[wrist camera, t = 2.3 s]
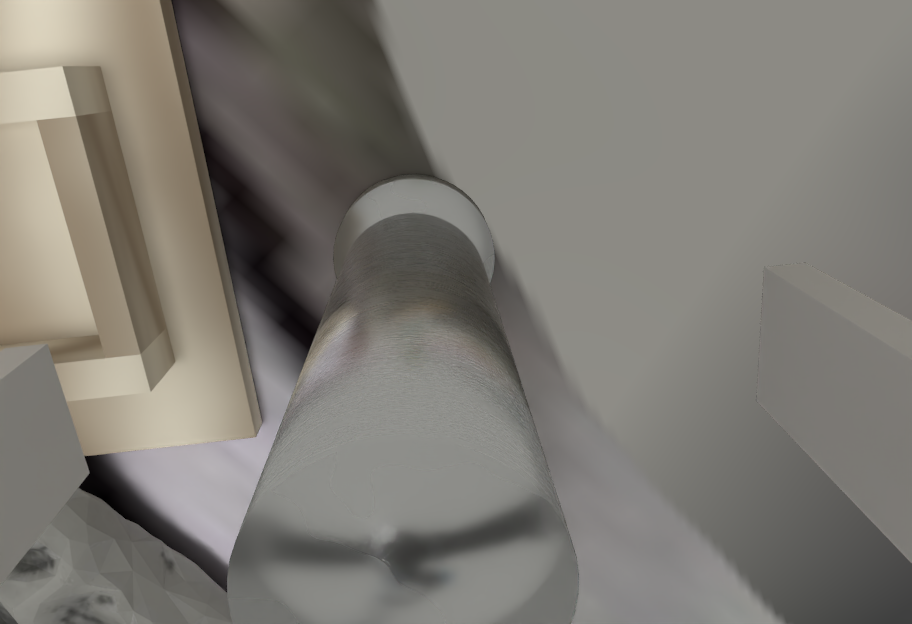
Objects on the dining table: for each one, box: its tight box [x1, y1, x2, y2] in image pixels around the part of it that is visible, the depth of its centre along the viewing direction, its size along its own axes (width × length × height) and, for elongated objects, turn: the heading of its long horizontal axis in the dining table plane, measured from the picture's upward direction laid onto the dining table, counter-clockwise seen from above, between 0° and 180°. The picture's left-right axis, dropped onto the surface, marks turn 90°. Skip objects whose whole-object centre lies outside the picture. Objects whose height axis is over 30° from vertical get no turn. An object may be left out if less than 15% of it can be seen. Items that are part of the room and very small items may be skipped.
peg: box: [227, 174, 579, 624], centre depth 15 cm, size 5×5×16 cm
